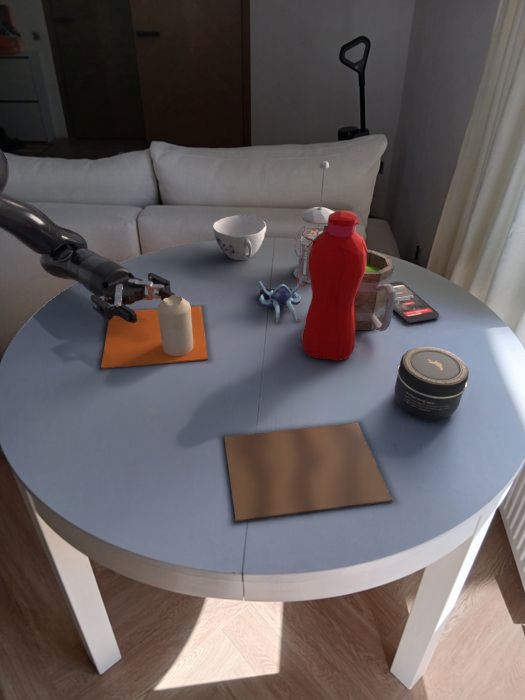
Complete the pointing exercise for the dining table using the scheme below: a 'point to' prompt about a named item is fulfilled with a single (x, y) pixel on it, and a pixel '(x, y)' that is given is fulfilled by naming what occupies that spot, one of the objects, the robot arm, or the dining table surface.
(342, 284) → the water bottle
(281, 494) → the brown flat board
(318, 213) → the french press
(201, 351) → the towel
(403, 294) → the smartphone
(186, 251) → the dining table surface
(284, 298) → the figurine
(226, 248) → the teacup
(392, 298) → the mug
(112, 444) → the dining table surface
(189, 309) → the candle
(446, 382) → the jar
